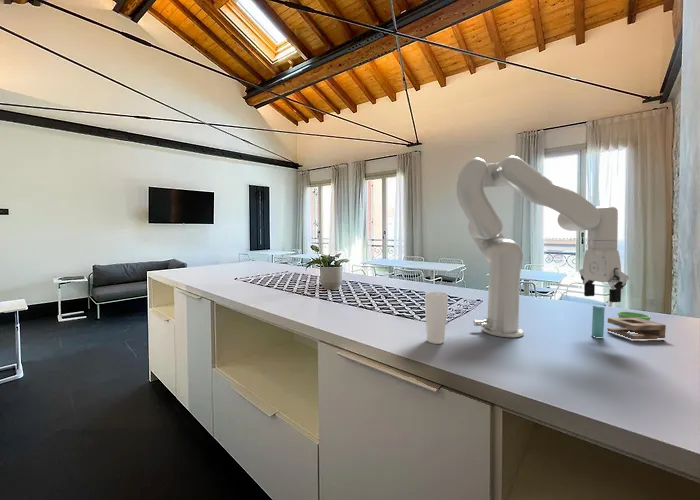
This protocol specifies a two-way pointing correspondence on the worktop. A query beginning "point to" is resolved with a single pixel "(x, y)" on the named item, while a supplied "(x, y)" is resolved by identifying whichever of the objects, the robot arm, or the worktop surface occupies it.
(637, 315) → the ramekin
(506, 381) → the worktop surface
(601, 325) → the peg
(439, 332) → the drinking glass
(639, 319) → the block
